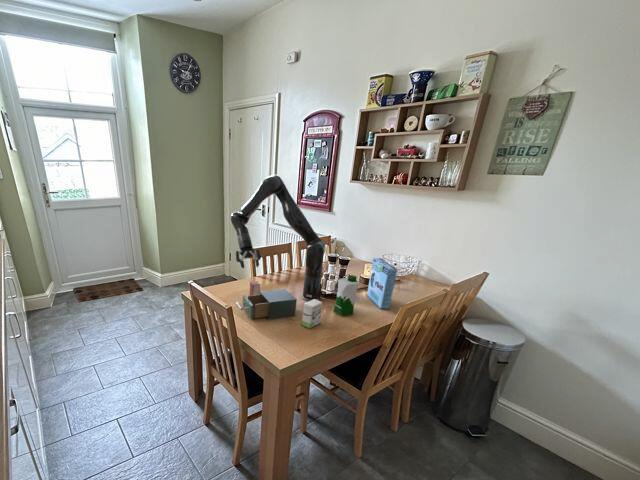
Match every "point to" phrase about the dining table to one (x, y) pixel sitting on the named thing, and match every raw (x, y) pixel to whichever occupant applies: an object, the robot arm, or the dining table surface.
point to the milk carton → (346, 295)
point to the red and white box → (254, 288)
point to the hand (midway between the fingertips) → (250, 267)
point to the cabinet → (280, 303)
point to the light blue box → (381, 283)
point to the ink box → (312, 313)
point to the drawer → (255, 306)
